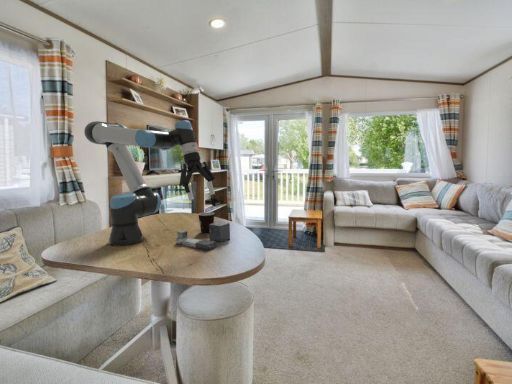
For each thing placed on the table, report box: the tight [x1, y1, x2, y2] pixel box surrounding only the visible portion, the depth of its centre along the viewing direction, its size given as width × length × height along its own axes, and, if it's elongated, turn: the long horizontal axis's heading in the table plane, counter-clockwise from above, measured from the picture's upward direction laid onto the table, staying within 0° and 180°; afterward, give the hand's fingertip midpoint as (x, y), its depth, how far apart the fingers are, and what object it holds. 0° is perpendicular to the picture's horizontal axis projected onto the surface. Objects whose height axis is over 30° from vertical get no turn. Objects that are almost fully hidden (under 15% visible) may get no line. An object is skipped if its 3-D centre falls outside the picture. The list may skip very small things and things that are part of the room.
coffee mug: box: [197, 212, 215, 234], centre depth 158 cm, size 12×9×10 cm
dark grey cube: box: [209, 221, 231, 243], centre depth 141 cm, size 7×7×8 cm
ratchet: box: [175, 229, 217, 252], centre depth 133 cm, size 22×6×6 cm, turn 56°
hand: (202, 197), depth 136 cm, fingers open, 13 cm apart
